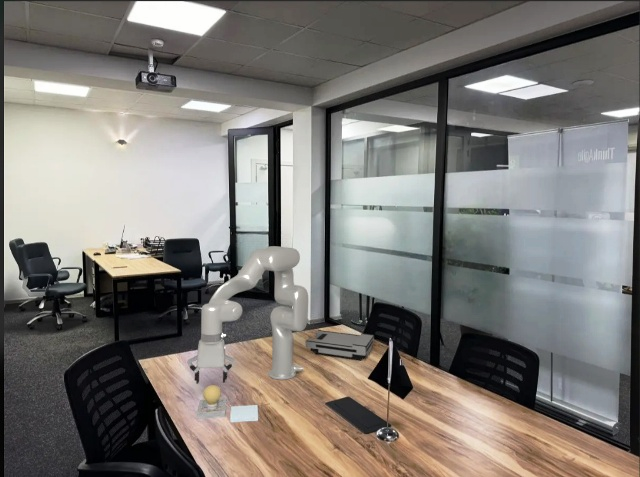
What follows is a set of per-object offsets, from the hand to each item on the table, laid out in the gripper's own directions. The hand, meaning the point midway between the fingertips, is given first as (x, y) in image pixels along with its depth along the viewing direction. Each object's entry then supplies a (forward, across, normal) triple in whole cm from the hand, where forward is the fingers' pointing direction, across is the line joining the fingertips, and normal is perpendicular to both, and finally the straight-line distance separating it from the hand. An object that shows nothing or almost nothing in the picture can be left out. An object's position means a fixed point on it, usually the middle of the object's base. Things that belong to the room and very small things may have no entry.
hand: (210, 381), depth 159 cm
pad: (+12, -13, +3) cm, 18 cm away
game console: (+10, -63, -58) cm, 86 cm away
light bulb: (+12, -1, -1) cm, 12 cm away
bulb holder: (+12, -1, -1) cm, 12 cm away
